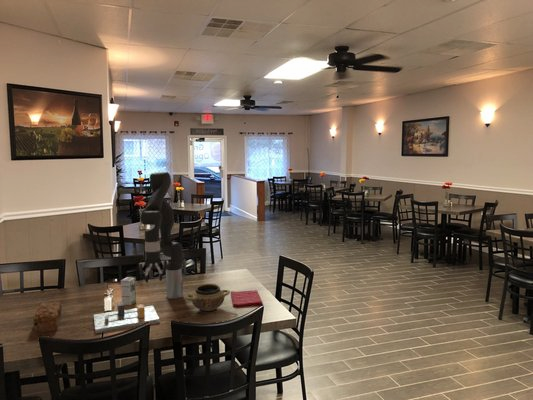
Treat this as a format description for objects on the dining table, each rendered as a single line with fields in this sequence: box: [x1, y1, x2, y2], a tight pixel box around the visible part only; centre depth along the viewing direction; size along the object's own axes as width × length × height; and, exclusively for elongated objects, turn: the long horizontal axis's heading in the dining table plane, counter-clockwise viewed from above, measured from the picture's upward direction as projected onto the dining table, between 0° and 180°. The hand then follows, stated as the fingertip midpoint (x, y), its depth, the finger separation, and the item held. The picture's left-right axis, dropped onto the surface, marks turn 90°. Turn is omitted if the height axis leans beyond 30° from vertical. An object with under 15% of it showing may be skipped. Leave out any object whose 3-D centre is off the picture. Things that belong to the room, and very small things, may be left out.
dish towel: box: [230, 289, 264, 308], centre depth 239 cm, size 17×24×3 cm
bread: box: [33, 300, 63, 334], centre depth 204 cm, size 19×11×10 cm, turn 19°
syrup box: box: [120, 276, 137, 306], centre depth 233 cm, size 6×6×14 cm
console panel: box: [93, 301, 160, 334], centre depth 209 cm, size 30×20×7 cm, turn 115°
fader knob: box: [136, 303, 145, 318], centre depth 209 cm, size 3×5×5 cm, turn 25°
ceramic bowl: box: [184, 283, 231, 314], centre depth 222 cm, size 24×18×15 cm
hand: (153, 281), depth 210 cm, fingers open, 6 cm apart
